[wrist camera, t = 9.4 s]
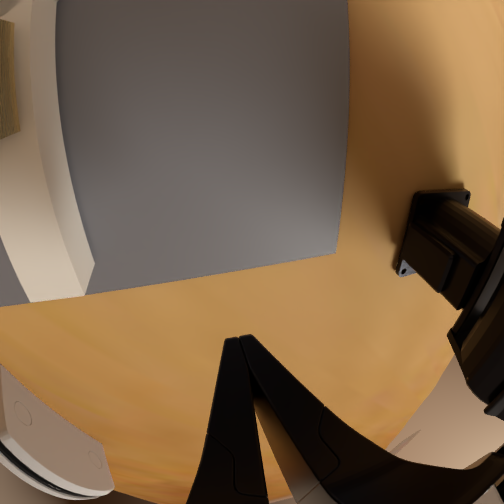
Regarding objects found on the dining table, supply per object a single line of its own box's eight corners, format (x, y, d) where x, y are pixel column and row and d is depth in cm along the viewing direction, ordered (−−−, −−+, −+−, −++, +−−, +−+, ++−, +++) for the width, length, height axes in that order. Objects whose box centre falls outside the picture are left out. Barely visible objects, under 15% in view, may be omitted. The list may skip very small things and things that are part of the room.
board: (328, -93, 5) (333, -97, 5) (330, 247, 17) (335, 253, 16) (-50, -17, 1) (-55, -18, 1) (0, 300, 13) (-3, 307, 12)
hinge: (-28, 367, 15) (-34, 458, 7) (0, 348, 16) (-3, 446, 9) (72, 446, 24) (96, 515, 17) (99, 433, 26) (128, 504, 18)
